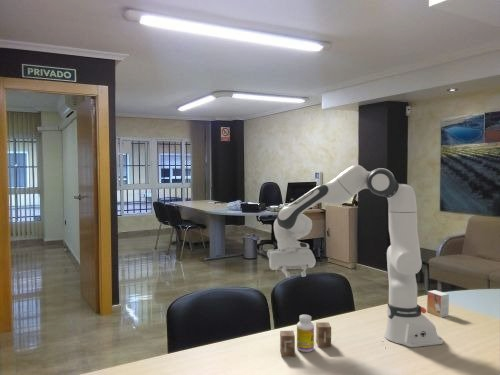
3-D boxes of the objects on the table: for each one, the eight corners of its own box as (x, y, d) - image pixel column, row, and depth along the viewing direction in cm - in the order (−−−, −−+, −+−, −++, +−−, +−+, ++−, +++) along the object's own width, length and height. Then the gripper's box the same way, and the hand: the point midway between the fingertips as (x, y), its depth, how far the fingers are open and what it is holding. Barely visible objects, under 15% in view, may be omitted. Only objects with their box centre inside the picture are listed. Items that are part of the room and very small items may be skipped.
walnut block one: (328, 341, 166) (328, 322, 165) (331, 347, 161) (331, 327, 160) (316, 341, 166) (316, 322, 165) (318, 347, 161) (318, 327, 160)
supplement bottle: (313, 353, 155) (313, 320, 155) (296, 352, 156) (296, 319, 156) (314, 346, 162) (314, 314, 161) (297, 344, 163) (297, 313, 162)
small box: (426, 312, 199) (427, 291, 199) (434, 310, 201) (435, 289, 201) (440, 317, 192) (440, 295, 191) (448, 315, 194) (449, 294, 194)
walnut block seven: (293, 350, 157) (293, 330, 157) (294, 357, 152) (294, 336, 152) (280, 351, 157) (280, 330, 157) (281, 357, 152) (281, 336, 152)
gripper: (267, 245, 175) (274, 274, 166) (311, 243, 179) (320, 270, 170) (264, 254, 179) (271, 282, 170) (308, 251, 184) (316, 278, 175)
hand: (296, 276), depth 170 cm, fingers open, 5 cm apart
